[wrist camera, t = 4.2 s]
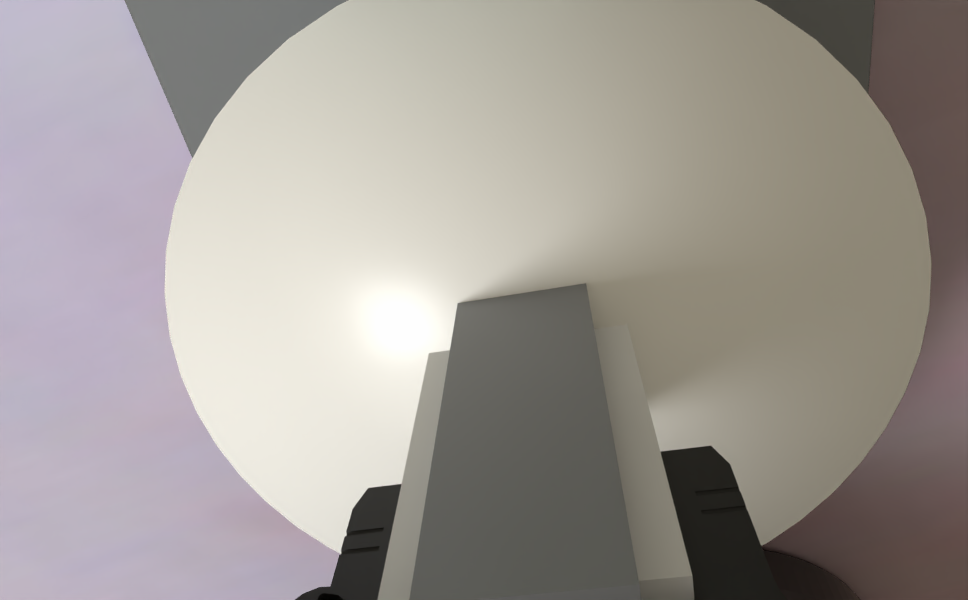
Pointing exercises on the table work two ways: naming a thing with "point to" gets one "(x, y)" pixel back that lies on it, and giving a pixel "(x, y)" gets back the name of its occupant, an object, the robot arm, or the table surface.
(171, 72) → the mat
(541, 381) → the lid
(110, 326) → the table surface
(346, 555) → the robot arm
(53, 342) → the table surface
